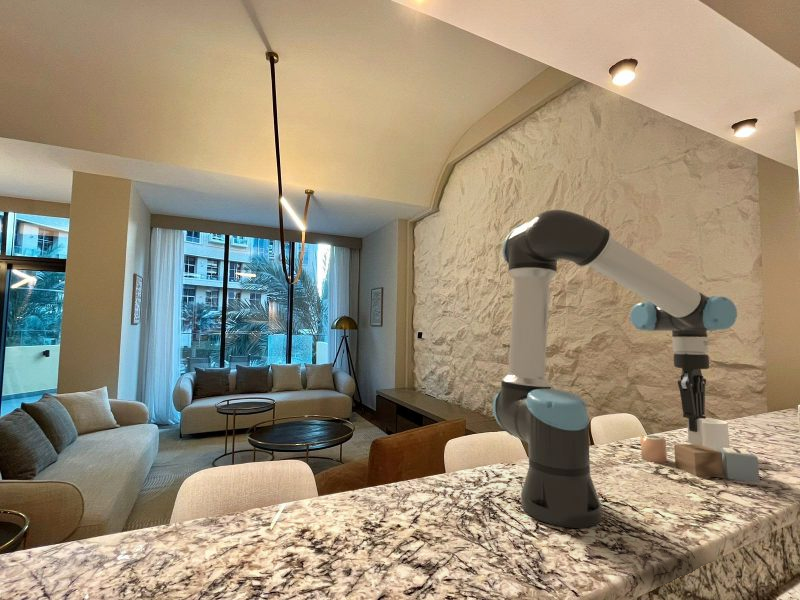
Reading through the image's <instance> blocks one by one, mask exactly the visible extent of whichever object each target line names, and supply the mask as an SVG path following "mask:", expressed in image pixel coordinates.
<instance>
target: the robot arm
mask: <svg viewBox="0 0 800 600" xmlns="http://www.w3.org/2000/svg"><path fill="white" fill-rule="evenodd" d="M502 255H503V256H502V257H503V258H504V261H506V263H507V265H508V268H507V269H508V270H507V273H508V274H509V275H510V277H511V278H512V279H513V287H512V290H513V292H512V306H511V307H512V309H511V325H510V326H511V327H510V340H509V342H510V343H509V359H508V372H507V374H506V375H505V376H503V377H502V378H501V385H500V390H499V391H498V393H496V395H495V397H494V399H493V403H492V413H493V417H494V418H495V420H496V423H497V424H498V425H499V426H500V428H502V429H503V430H505V433H507V434H509V435H511V436H514V437H515V438H517V439H520V440H521V441H522V442H525V443H527V444H528V446H527V448H528V470H527V472H526V475H525V478H524V479H525V480H524V483H523V486H522V489H521V494H520V496H521V497H520V498H521V499H520V503H521V504H520V505H521V508H522V509H523V511H524V512H525V513H526V514H528V515H529V516H531V517H532V518H534V519H536V520H538V521H540V522H543V523H547V524H549V525H554V526H557V527H561V528H562V527H563V528H569V529H570V528H571V529H583V528H590V527H593V526H596V525H598V524H599V523H600V522H601V521H602V519H603V513H602V512H603V510H602V503H601V501H600V498H599V495H598V492H597V489H596V487H595V485H594V481H593V479H592V476H591V468H590V467H591V465H590V463H591V462H590V438H589V437H590V435H589V422H590V418H589V415H588V413H589V412H588V406H587V404H586V401H585V400H584V399H583V398H582V397H580V396H579V395H577V394H575V393H573V392H568V391H564V390H563V391H562V390H559V389H554V388H552V384H551V383H550V382H549V380H548V379H547V378H546V362H547V361H546V360H547V342H548V339H547V337H548V323H549V321H548V317H549V299H550V297H549V295H550V282H551V279H553V278H554V277H555V276H556V275H557V271H558V269H557V267H558V261H559V260H563V261H564V260H566V261H570V262H572V263H575V264H576V265H577V266H579V267H583V268H584V267H587V266H589V267H590V268H592V269H593V270H595V271H597V272H598V273H600V274H601V275H604V276H605V277H606V278H608V279H610V280H611V281H614V282H615V283H617V284H618V285H620V286H622V287H624V288H625V289H627V290H629V291H630V292H632V293H633V294H635V295H637V296H638V297H640V298H642V299H644V300H645V301H646V302H645V301H644V302H638V303H636V304H634V305H633V307H632V308H631V310H630V323H631V324H632V326H633V327H634V328H635V329H636V330H638V331H646V332H654V331H655V332H656V331H657V332H662V331H663V332H666V331H667V332H668V331H670V332H671V334H672V336H671V337H672V351H673V352H674V354H673V366H674V367H675V368H677V369H681V375H680V379H679V380H677V385H678V389H679V395H680V402H681V406H682V407H681V408H682V417H683V418H685V419H686V418H687V420H686V421H687V435H688V437H687V438H688V439H687V440H688V444H696V445H703V432H702V419H706V418H707V417H706V415H705V414H706V412H705V411H706V409H705V408H706V405H705V404H706V385H707V379H706V378H705V377H704V376H703V374H702V373H703V372H702V370H708V369H710V357H709V355H708V354H706V353H708V352H709V345H710V344H711V341H710V340H708V332H712V331H720V330H721V331H722V330H728V329H730V328H732V326H734V325H735V323H736V319H737V317H738V310H737V306H736V305H735V303H734V302H733V301H732V300H731V299H730V298H728V297H726V296H715V295H712V296H707V295H705V294H704V293H701V292H700V291H699V290H697V289H695V288H694V287H692V286H690V285H689V284H687V283H686V282H684V281H682V280H681V279H679V278H677V277H676V276H674V275H673V274H671V273H670V272H668V271H666V270H665V269H663V268H661V267H660V266H658V265H657V264H655V263H654V262H652V261H650V260H648V259H647V258H645V257H644V256H642V255H640V254H639V253H637V252H635V250H632V249H631V248H629V247H628V246H626V245H624V244H623V243H621V242H619V241H618V240H616V239H615V238H613V237H612V234H611V231H610V229H608V228H606V227H605V226H603V225H601V224H600V223H598V222H597V221H595V220H593V219H591V218H588V217H586V216H583V215H582V214H578V213H575V212H572V211H568V210H564V209H563V210H562V209H552V210H551V209H550V210H549V209H548V210H547V211H543V212H540V213H539V214H537V215H536V216H535V217H533V218H531V219H529V220H528V221H526V222H524V223H522V224H519V225H517V226H516V227H514V229H512V230H511V231H510V232H509V233H508V235H507V236H506V237H505V239H504V241H503V244H502ZM700 418H702V419H700Z"/></svg>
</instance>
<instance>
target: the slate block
mask: <svg viewBox="0 0 800 600" xmlns="http://www.w3.org/2000/svg"><path fill="white" fill-rule="evenodd" d="M718 451H719V452H722V462H723V476H725V477H726V478H727V479H728V480H729V479H730V480H735V479H737V481H745V482H750V483H751V482H753V483H760V482H761V480H760V471H759V470H760V469H759V468H760V467H759V457H758V456H757V455H756V454H753V453H752V452H751V451H750V450H747V449H741V448H732V447H730V448H718Z"/></svg>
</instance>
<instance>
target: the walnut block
mask: <svg viewBox="0 0 800 600" xmlns="http://www.w3.org/2000/svg"><path fill="white" fill-rule="evenodd" d="M673 448H674V450H673V451H674V463H675V465H674V466H676V467H675V468H677V467H678V468H677V469H679V468H680V469H679V470H681V469H682V470H681V471H683V470H684V471H683V472H685V471H686V472H685V473H687V472H688V474H689V473H690V474H689V475H692V476H693V477H696V476H697V478H699V477H703V478H705V477H707V478H709V477H710V478H712V477H714V478H716V477H717V476H718V477H722V476H724V474H723V462H722V452H719V451H716V450H714V449H711V448H708V447H705V446H703V445H696V444H692V443H688V444H684V443H683V444H682V443H681V444H676V443H675V444H673ZM715 476H716V477H715Z"/></svg>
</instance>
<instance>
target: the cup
mask: <svg viewBox="0 0 800 600" xmlns="http://www.w3.org/2000/svg"><path fill="white" fill-rule="evenodd" d="M700 419H702V418H700ZM702 432H703V446H705V447H708V448H711V449H714V450H716V451H718V448H731V447H730V435H729V434H730V433H729V424H728V422H727V421H726V420H722V419H717V418H711V417H706V419H702Z"/></svg>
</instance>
